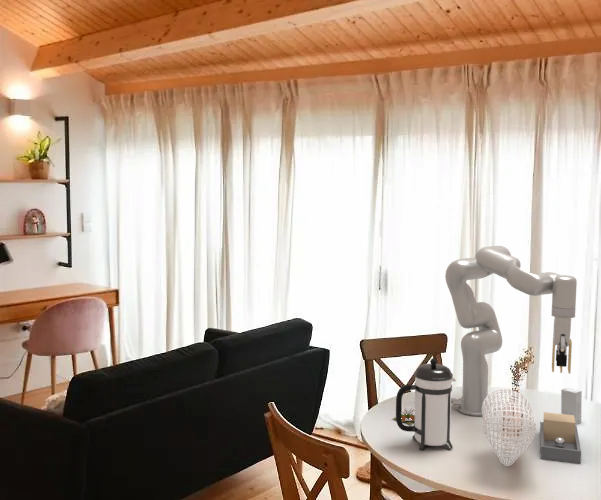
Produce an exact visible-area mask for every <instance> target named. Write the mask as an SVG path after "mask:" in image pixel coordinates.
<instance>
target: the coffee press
mask: <svg viewBox="0 0 601 500" xmlns="http://www.w3.org/2000/svg"><path fill="white" fill-rule="evenodd" d="M413 376H414V378H415V379H414V384H405V385H403V386H402V387H400V388H399V389H398V392H396V399H395V417H396V419H395V422H396V424H397V427H398V428H399V429H400V430H402V431H404V432H411V433H412V432H413V433H414V434H413V435H412V437H411V438H412V440H413V441H417V442H418V443H419V446H418V449H419V451H422V452H424V451H425V449H426V447H427V446H431V447H440V446H444V447H445V448H446V449H447V450H448V451H450V450H451V451H452V450H453V444H452V443H451V426H452V425H451V419H452V417H451V415H452V413H451V412H452V403H451V398H452V392H453V383H452V382H457V379H456V378H455V377H454V375H453V373H452V371H451V369H450V368H449V367H447V365H443V364H438V361H437V359H436V358H434V357H433V358H431V359H430V363H425V364H420V365H419V366H418V367H416V370H414V372H413ZM409 391H414V415H415V421H414V423H413V425H405V424H404V423H403V422H402V420H401V414H403V413H402V403H403V400H402V399H403V396H404V394H405V393H406V392H409Z"/></svg>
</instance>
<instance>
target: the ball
mask: <svg viewBox="0 0 601 500" xmlns="http://www.w3.org/2000/svg"><path fill="white" fill-rule="evenodd" d="M554 443H555V445H556V446H557V447H559V448H561V447H564V445H565V440H564V439H563V438H561V437H557V438H556V439H555V441H554Z"/></svg>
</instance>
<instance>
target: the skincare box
mask: <svg viewBox="0 0 601 500" xmlns="http://www.w3.org/2000/svg"><path fill="white" fill-rule="evenodd" d="M560 392H561V402H560V403H561V408H560V410H561V413H560V414H566V415H574V418H575V425H579V424H580V423H582V397H583V396H582V390H580V389H574V388H570V387H565V388H562V389H561V391H560Z"/></svg>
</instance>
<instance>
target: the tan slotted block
mask: <svg viewBox="0 0 601 500" xmlns="http://www.w3.org/2000/svg"><path fill="white" fill-rule="evenodd" d="M553 344H554V341H553V340H552V351H551V353H552V355H551V358H552V359H551V372H552V373H554V372H555V361H556V346H554V345H553ZM565 344H566V342H565ZM572 345H573V342H572V339H571V338H570V340H569V346H568V353H567V371H568V374H571V369H572V366H571V365H572V349H573V348H572V347H573V346H572ZM559 369H560V370H559V373H560V374H561V373H563V367H562V366H559Z"/></svg>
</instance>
